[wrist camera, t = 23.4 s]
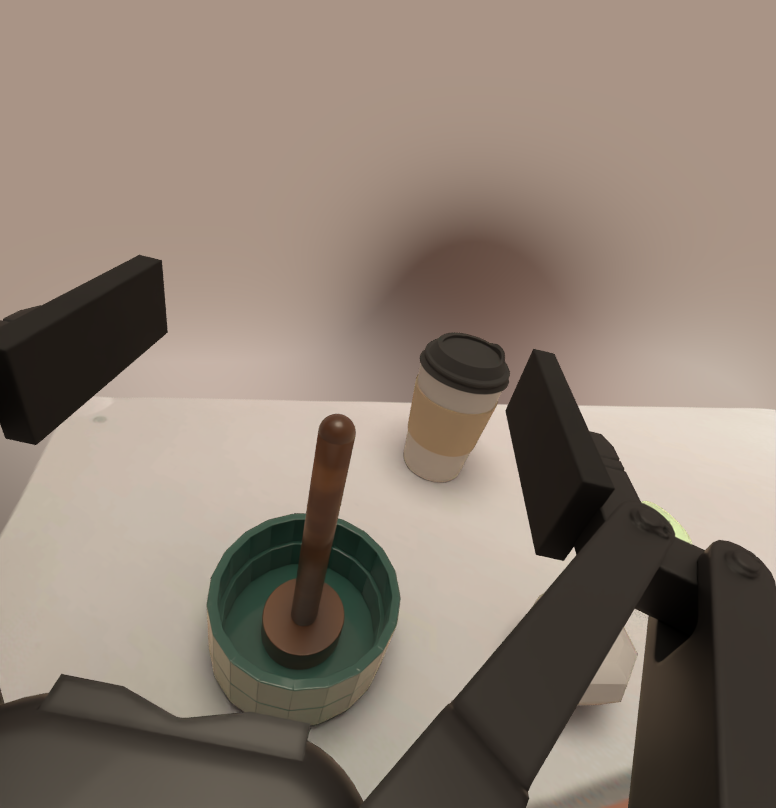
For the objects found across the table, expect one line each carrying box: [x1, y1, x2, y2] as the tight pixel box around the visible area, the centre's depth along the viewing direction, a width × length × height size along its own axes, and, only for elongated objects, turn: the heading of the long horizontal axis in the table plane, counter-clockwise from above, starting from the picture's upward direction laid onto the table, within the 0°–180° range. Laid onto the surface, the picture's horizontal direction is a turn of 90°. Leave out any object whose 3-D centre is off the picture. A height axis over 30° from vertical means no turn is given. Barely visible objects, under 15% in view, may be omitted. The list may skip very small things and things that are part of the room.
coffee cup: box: [403, 333, 510, 482], centre depth 47 cm, size 9×9×15 cm
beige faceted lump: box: [533, 594, 638, 705], centre depth 32 cm, size 8×8×7 cm
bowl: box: [207, 513, 400, 725], centre depth 31 cm, size 12×12×6 cm
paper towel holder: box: [261, 414, 356, 670], centre depth 27 cm, size 6×6×19 cm
